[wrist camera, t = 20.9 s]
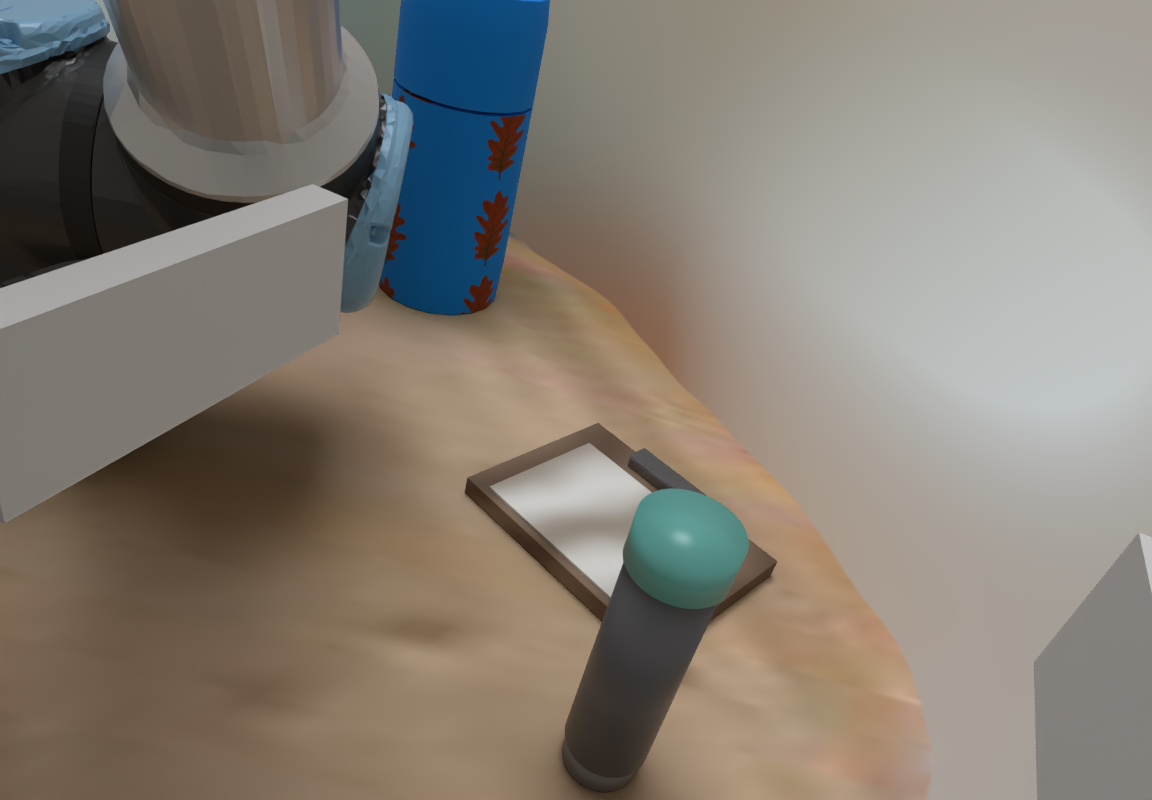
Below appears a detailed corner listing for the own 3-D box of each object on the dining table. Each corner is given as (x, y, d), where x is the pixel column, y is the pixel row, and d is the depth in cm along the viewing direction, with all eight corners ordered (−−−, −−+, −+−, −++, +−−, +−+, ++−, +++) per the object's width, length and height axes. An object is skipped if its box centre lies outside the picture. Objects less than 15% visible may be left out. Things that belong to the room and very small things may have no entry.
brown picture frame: (464, 492, 53) (469, 465, 52) (594, 436, 61) (601, 411, 60) (649, 665, 45) (660, 638, 44) (770, 574, 53) (782, 550, 52)
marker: (535, 746, 39) (612, 513, 31) (598, 699, 42) (684, 475, 34) (599, 819, 37) (701, 589, 29) (662, 764, 40) (770, 541, 32)
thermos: (352, 264, 74) (376, -46, 60) (453, 250, 81) (495, -32, 67) (418, 325, 68) (461, -4, 55) (521, 304, 75) (582, 6, 61)
